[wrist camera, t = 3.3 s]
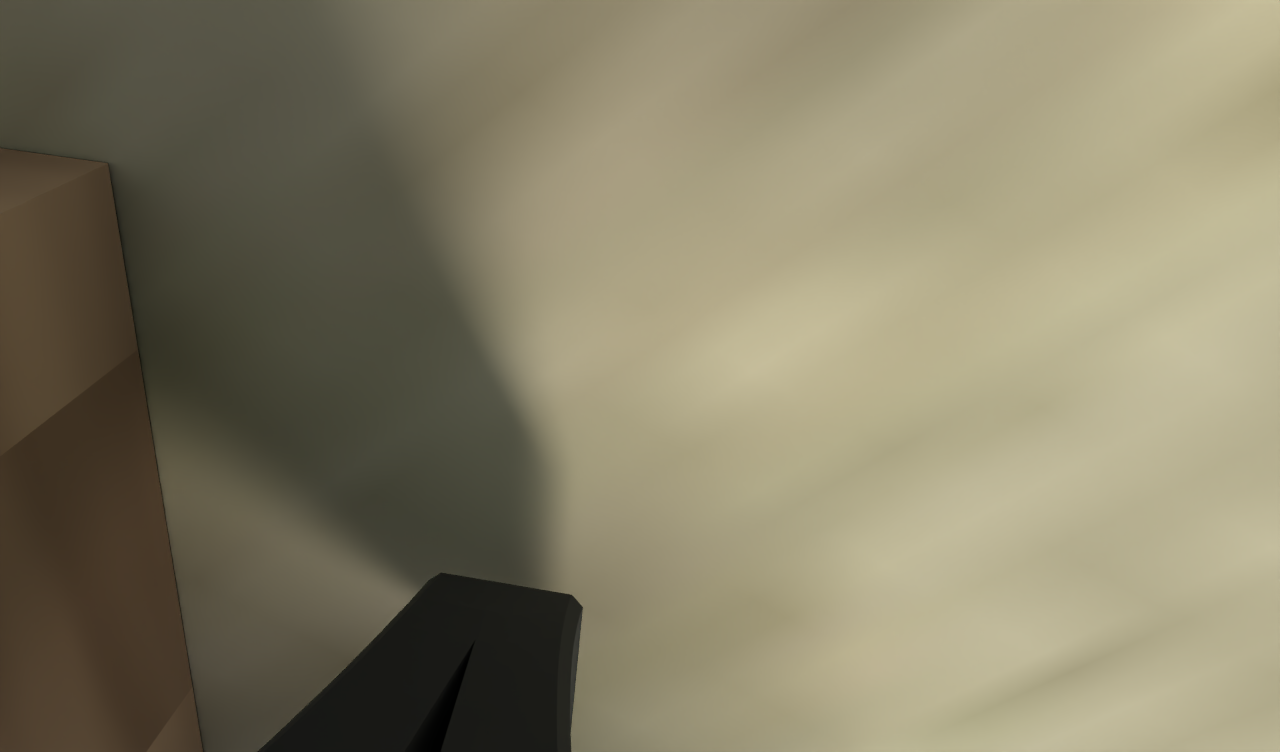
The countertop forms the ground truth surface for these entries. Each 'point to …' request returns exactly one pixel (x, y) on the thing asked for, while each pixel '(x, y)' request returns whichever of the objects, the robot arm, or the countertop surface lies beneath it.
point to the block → (79, 484)
